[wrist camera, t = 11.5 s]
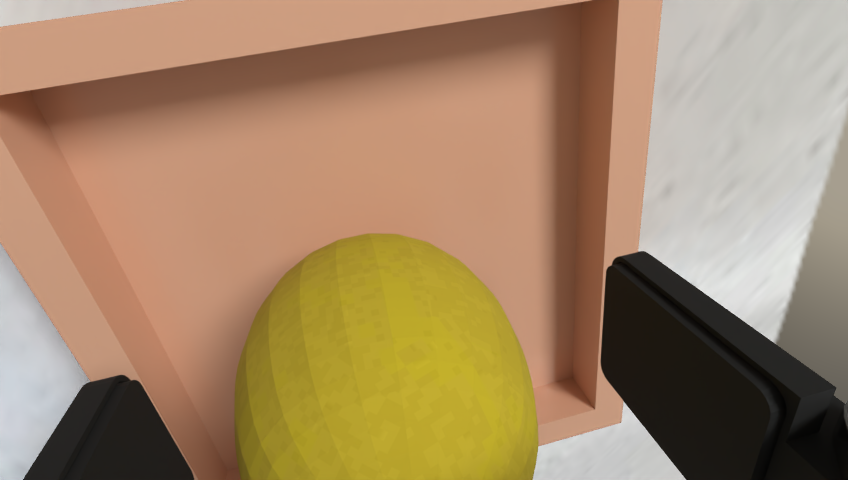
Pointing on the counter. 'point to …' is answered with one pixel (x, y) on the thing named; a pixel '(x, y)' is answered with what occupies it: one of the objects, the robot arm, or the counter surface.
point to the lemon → (383, 372)
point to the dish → (321, 176)
